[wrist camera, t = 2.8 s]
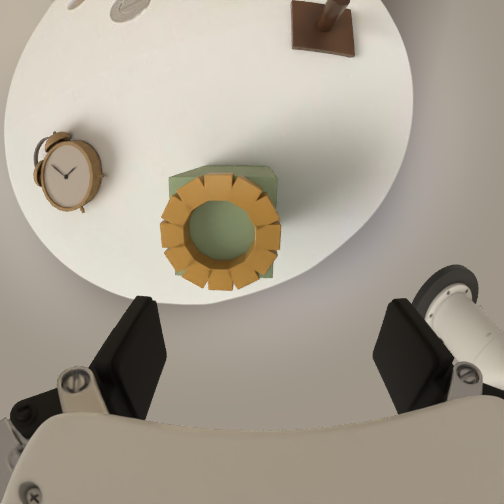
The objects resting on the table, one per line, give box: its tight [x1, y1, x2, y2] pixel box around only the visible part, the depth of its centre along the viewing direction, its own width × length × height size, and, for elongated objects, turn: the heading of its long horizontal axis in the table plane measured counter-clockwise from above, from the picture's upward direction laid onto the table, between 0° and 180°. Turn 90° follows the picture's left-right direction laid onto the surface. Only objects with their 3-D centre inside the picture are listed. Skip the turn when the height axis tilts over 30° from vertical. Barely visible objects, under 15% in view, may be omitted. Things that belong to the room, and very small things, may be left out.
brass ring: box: [160, 173, 281, 291], centre depth 22 cm, size 10×10×2 cm
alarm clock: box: [34, 131, 104, 213], centre depth 34 cm, size 11×5×15 cm
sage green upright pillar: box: [169, 166, 277, 278], centre depth 31 cm, size 9×9×16 cm
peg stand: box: [291, 0, 355, 57], centre depth 23 cm, size 9×9×10 cm
